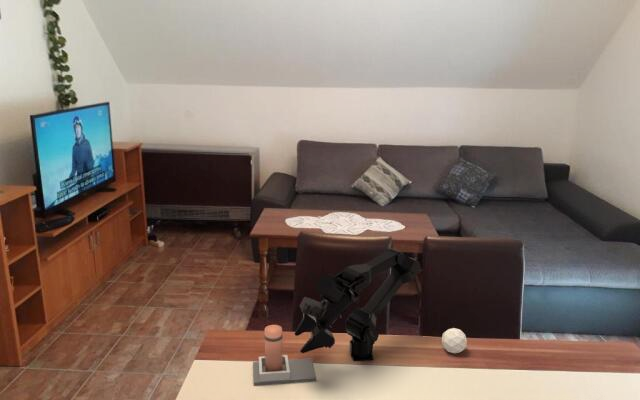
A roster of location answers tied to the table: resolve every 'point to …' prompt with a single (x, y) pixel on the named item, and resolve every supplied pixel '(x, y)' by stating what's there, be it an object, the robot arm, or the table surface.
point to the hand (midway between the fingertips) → (298, 343)
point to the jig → (284, 372)
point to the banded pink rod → (273, 348)
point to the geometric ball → (454, 340)
